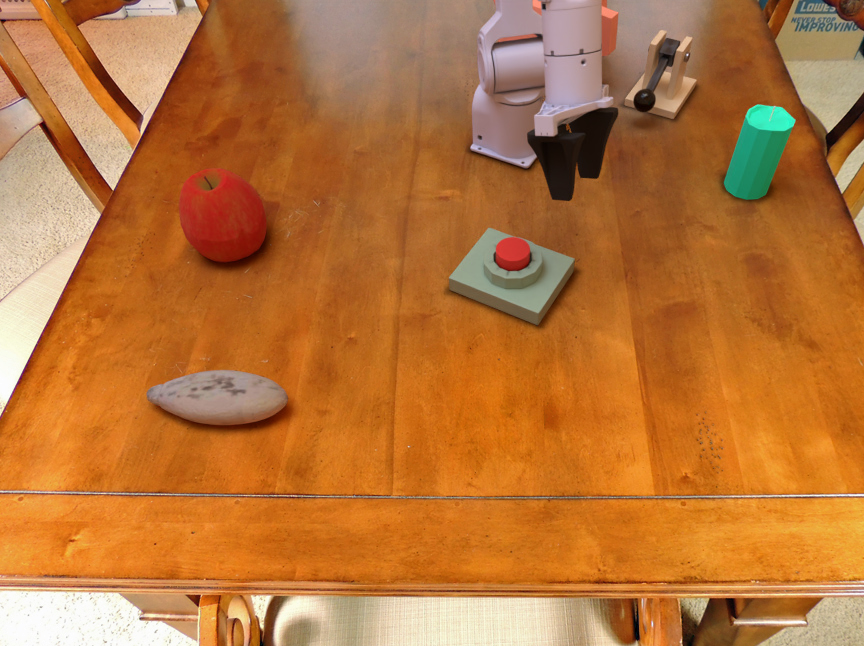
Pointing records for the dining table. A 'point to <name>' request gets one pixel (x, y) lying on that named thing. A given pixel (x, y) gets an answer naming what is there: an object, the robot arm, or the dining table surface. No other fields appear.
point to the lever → (656, 76)
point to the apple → (222, 215)
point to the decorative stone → (220, 397)
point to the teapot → (607, 27)
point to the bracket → (666, 79)
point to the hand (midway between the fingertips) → (576, 188)
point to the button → (512, 254)
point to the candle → (758, 151)
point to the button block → (512, 278)
